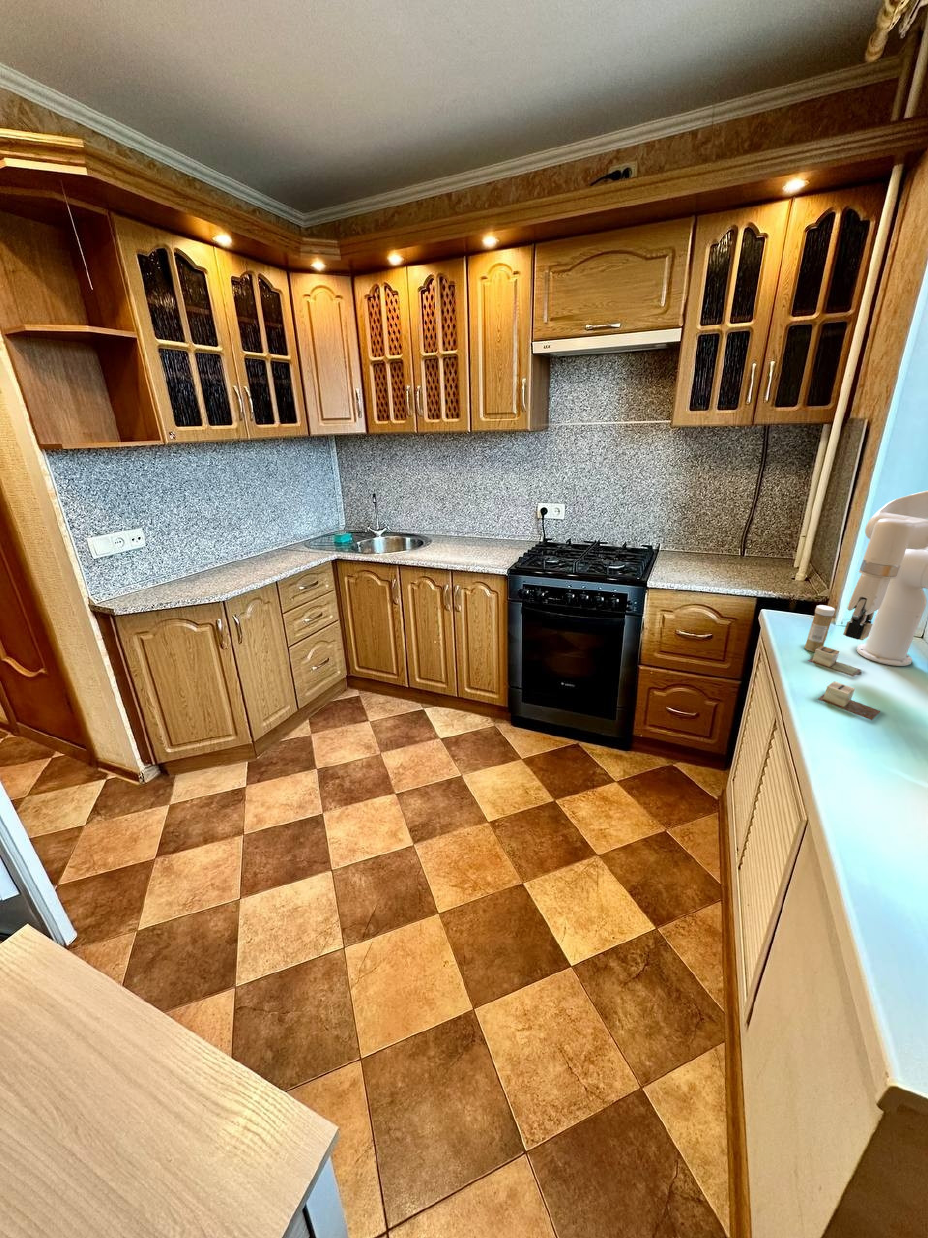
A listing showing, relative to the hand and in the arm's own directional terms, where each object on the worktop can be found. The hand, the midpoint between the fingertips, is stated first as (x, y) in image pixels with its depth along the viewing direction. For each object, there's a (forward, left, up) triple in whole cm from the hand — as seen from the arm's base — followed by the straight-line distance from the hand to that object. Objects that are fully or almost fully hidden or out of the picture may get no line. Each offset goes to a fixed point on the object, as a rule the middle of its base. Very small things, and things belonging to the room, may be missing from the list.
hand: (855, 634), depth 134 cm
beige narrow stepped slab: (0, -2, -11) cm, 11 cm away
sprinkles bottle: (-8, -10, -11) cm, 17 cm away
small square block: (0, 0, 0) cm, 0 cm away
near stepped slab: (+21, +8, -11) cm, 25 cm away
